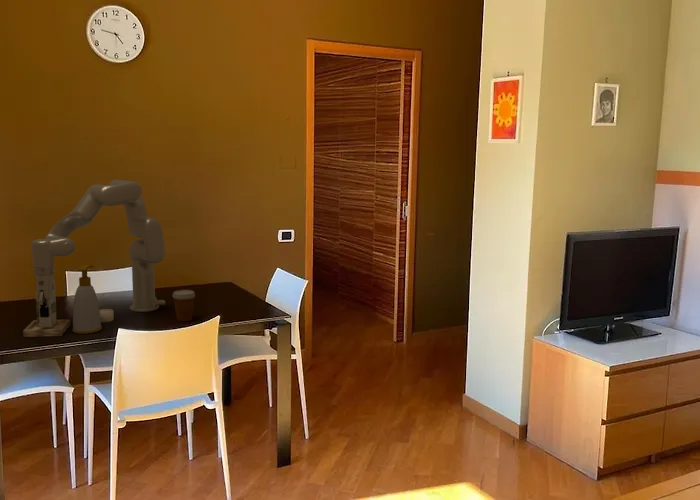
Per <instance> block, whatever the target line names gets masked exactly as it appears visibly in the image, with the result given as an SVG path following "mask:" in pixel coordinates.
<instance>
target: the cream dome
mask: <svg viewBox="0 0 700 500" xmlns="http://www.w3.org/2000/svg"><path fill="white" fill-rule="evenodd" d="M99 311H100V319H101V323H110V322H113V321H114V320H115V318H114V317H115V316H114V309H112V308H101V309H99Z"/></svg>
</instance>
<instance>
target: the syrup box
mask: <svg viewBox="0 0 700 500" xmlns="http://www.w3.org/2000/svg"><path fill="white" fill-rule="evenodd" d="M55 289H56V288H55ZM55 289H54V291H53V298H52V299H51V300H48V307H49V317H40V307H39V300H38V299H39V298H38V299H37V292H36V291H35V305H36V320H37V327H53V326H54V325H55V324H56V323H57V320H58V318H57V300H56V297H57V296H56V295H55ZM44 299H46V298H43V300H44ZM44 302H45V303H46V301H44Z"/></svg>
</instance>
